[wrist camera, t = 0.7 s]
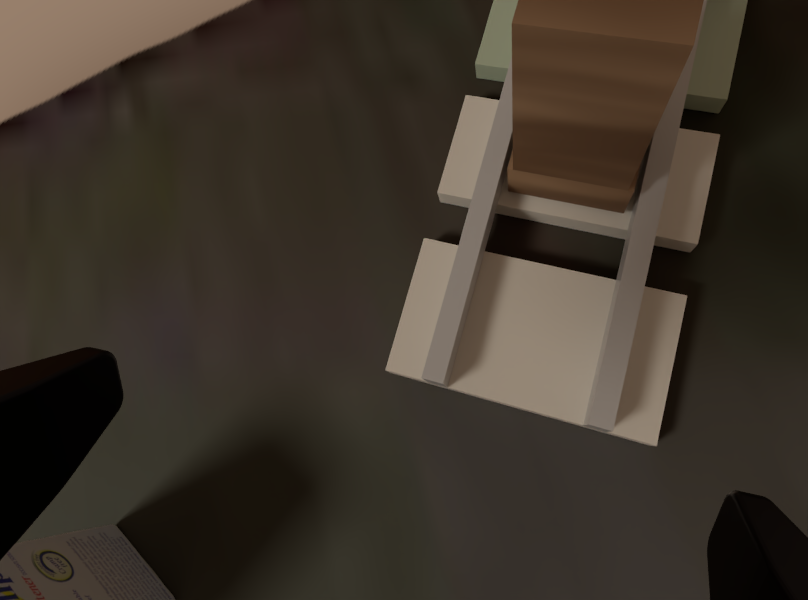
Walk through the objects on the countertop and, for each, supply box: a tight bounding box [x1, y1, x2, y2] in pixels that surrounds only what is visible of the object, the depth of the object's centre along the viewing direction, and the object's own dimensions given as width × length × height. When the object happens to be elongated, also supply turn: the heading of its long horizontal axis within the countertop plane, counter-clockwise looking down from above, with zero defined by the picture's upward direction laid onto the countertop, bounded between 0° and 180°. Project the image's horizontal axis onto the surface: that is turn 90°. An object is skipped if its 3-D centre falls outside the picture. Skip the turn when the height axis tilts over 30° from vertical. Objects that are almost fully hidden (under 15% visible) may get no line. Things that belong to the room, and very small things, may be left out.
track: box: [386, 0, 748, 446], centre depth 22 cm, size 20×10×4 cm, turn 163°
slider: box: [507, 0, 704, 214], centre depth 18 cm, size 4×4×10 cm
